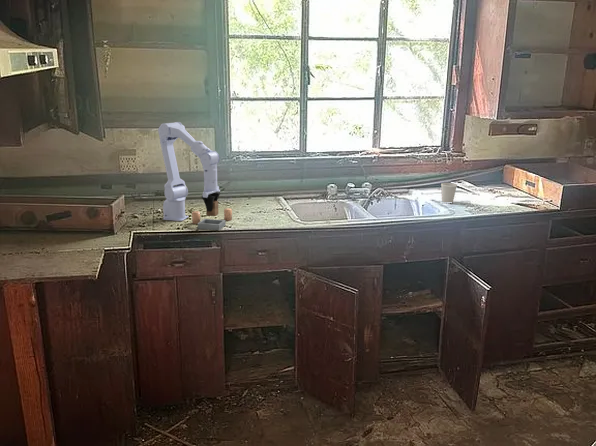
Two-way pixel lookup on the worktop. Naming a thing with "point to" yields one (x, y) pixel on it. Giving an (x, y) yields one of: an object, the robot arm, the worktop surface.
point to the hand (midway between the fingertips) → (211, 209)
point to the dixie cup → (448, 191)
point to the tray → (211, 224)
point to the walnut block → (214, 210)
